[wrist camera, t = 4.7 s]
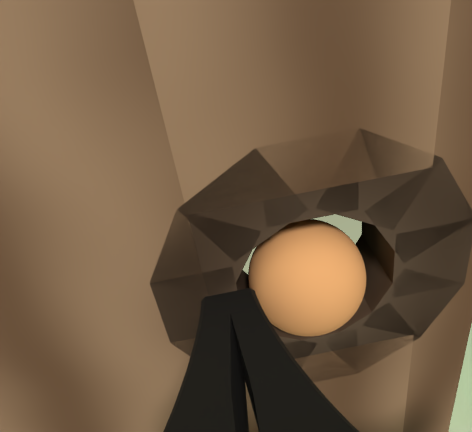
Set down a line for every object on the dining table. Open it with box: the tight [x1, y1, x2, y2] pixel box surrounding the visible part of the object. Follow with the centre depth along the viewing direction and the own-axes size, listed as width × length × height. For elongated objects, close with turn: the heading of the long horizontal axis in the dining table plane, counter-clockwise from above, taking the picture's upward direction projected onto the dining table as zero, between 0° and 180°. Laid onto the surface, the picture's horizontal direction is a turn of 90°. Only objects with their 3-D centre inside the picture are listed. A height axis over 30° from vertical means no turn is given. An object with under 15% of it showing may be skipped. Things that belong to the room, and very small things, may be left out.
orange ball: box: [248, 219, 366, 336], centre depth 13 cm, size 4×4×4 cm
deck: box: [0, 0, 472, 432], centre depth 13 cm, size 20×22×2 cm
